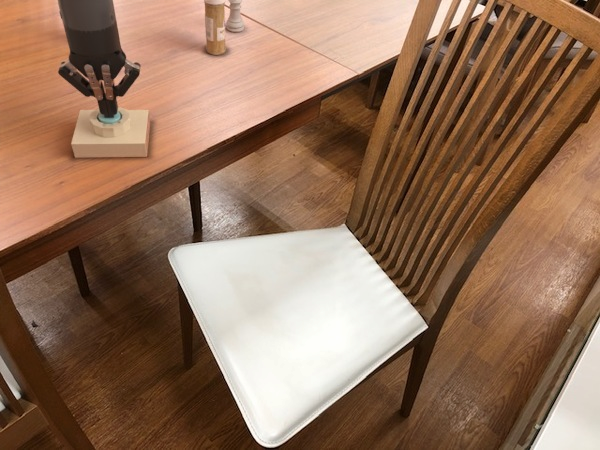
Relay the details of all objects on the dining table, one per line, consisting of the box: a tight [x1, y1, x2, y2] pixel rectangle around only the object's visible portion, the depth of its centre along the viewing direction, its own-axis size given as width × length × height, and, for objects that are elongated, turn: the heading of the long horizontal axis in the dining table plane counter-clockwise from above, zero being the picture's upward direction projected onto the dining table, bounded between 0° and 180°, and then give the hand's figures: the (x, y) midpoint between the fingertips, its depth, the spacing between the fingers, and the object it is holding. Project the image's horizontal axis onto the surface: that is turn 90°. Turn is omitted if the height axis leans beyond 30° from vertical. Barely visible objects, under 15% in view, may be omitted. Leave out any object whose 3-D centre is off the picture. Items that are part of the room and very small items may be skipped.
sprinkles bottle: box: [203, 0, 227, 56], centre depth 112 cm, size 5×5×13 cm
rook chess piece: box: [225, 0, 245, 33], centre depth 122 cm, size 4×4×8 cm
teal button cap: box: [98, 111, 121, 124], centre depth 88 cm, size 4×4×2 cm
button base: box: [70, 106, 151, 159], centre depth 89 cm, size 12×10×5 cm
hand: (110, 114), depth 88 cm, fingers closed
